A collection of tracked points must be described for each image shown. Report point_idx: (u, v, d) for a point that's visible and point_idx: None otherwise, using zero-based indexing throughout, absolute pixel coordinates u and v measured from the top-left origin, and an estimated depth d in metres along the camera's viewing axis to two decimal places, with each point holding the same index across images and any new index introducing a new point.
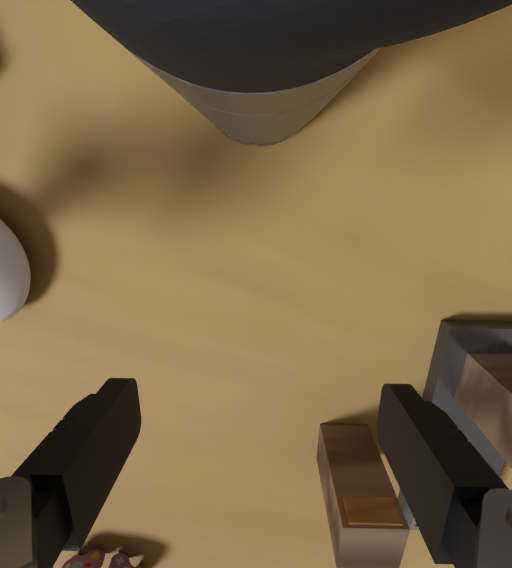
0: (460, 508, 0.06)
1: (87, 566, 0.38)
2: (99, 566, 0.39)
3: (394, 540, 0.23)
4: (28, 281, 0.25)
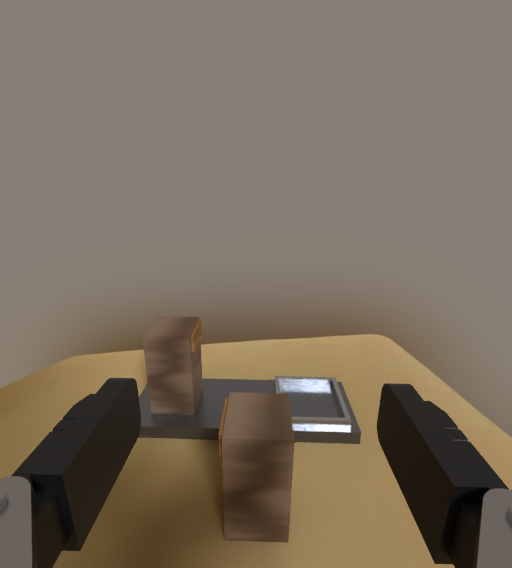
0: (459, 507, 0.06)
1: None
2: None
3: (244, 399, 0.25)
4: None
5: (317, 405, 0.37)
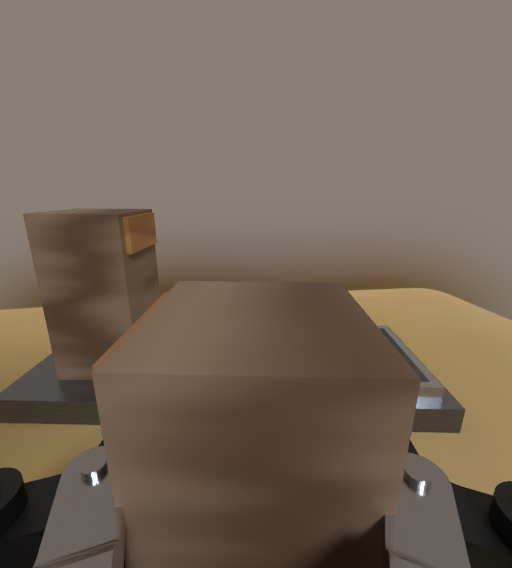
0: None
1: None
2: None
3: (215, 290, 0.09)
4: None
5: None
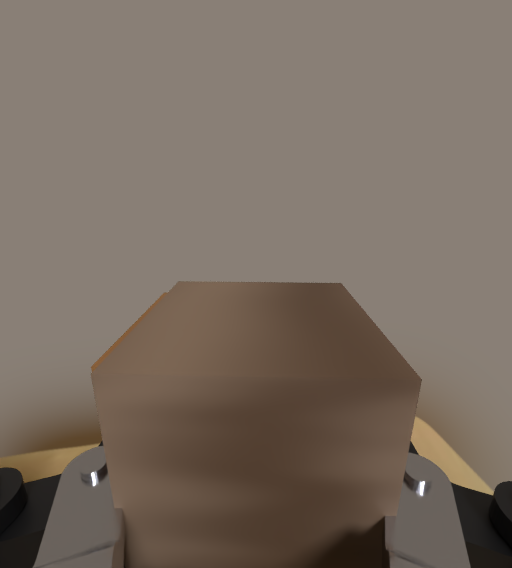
0: None
1: None
2: None
3: (215, 291, 0.09)
4: None
5: None
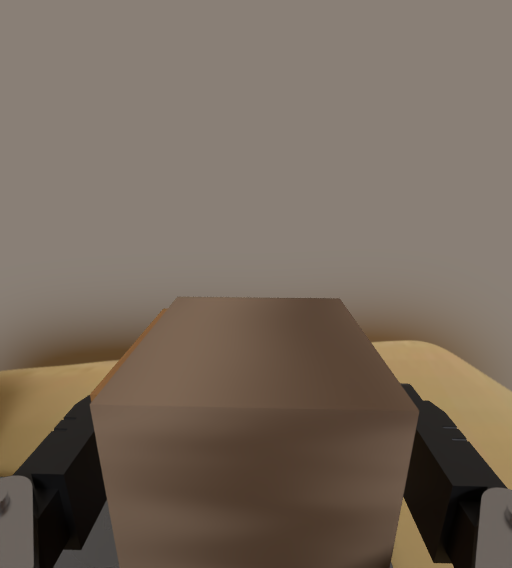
0: (458, 507, 0.06)
1: None
2: None
3: (214, 308, 0.09)
4: None
5: None
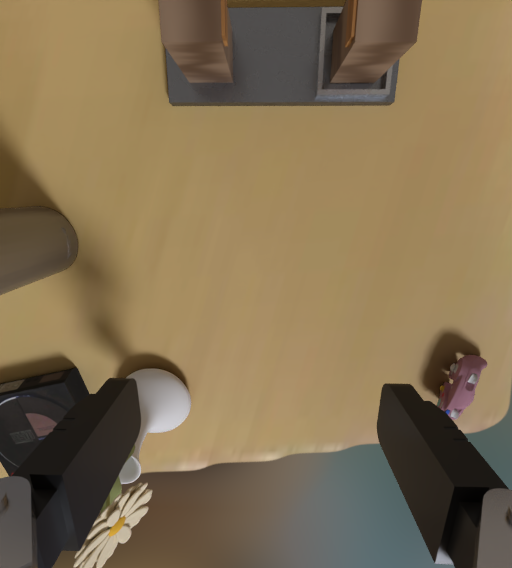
0: (459, 507, 0.06)
1: (442, 395, 0.45)
2: (451, 387, 0.46)
3: None
4: (160, 370, 0.46)
5: None
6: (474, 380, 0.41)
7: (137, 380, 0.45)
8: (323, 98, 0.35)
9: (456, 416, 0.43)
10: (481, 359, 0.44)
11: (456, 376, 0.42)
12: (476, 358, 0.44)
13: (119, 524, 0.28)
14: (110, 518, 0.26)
